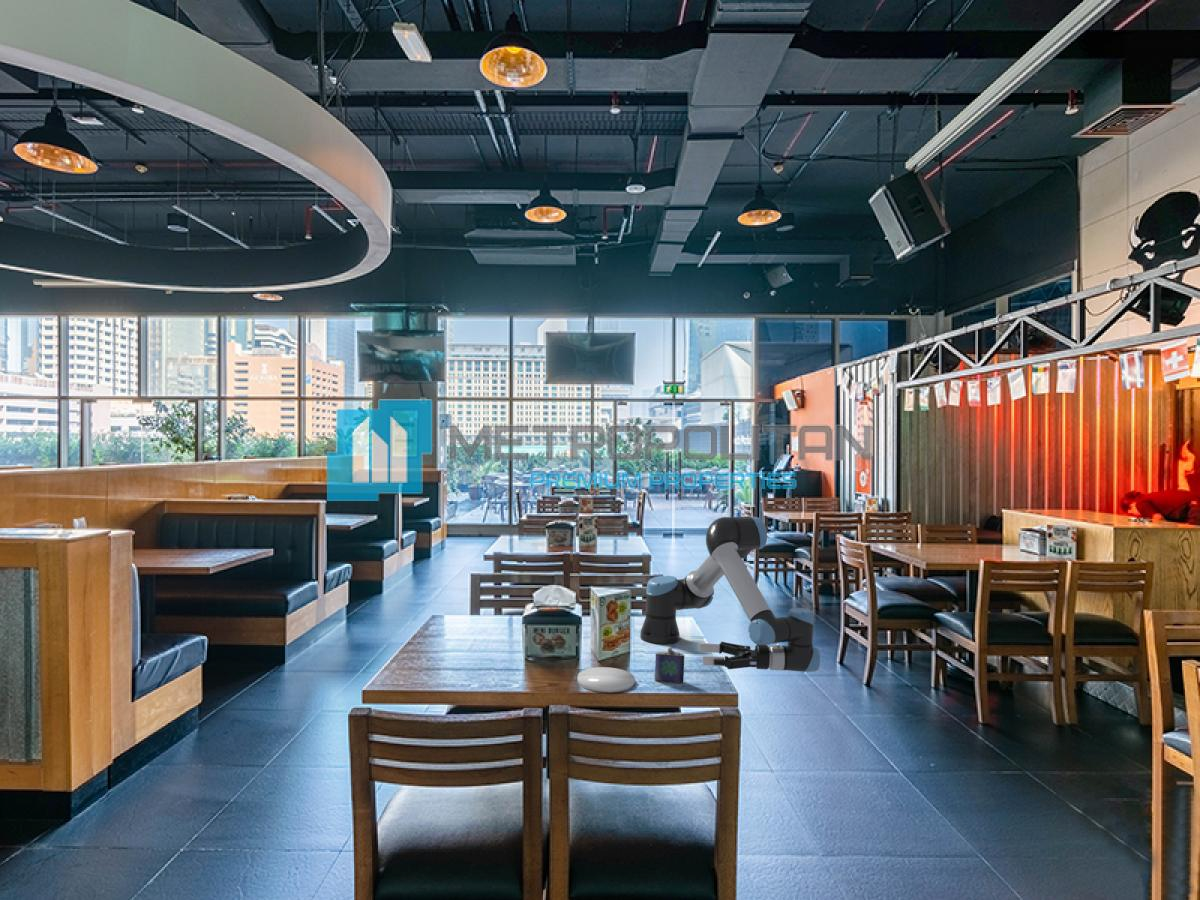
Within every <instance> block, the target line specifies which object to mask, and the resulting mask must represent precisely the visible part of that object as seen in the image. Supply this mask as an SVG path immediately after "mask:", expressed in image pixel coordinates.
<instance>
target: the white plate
mask: <svg viewBox="0 0 1200 900" xmlns="http://www.w3.org/2000/svg"><path fill="white" fill-rule="evenodd" d="M577 683H578V685H579V686H580V687H582V688H584V689H586V690H589V691H593V692H598V693H618V692H619V693H621V692H624V691H628V690H630V689H631V688H633V687H634V685H635V675H633V674H632V673H631V672H629V671H627V670H626V669H625V670H624V669H622V668H615V667H608V666H607V667H605V666H602V667H601V666H600V667H599V666H598V667H591V668H587V669H584V670H581V671H580V672H579V673H578V674H577Z"/></svg>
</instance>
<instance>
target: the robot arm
mask: <svg viewBox="0 0 1200 900" xmlns="http://www.w3.org/2000/svg"><path fill="white" fill-rule="evenodd" d="M705 535H706V536H705V545H706V548H707V551H708V554H709V555H708V556H707V557H706V559H705V560H704V561H703V563H702V564H701V565H700V566H699V567H698V568H697V569H696V570H692V571H690V572H689V573H687V575H685V577H684V578H681V579H680V578H679V579H677V577H675V576H672V575H660V576H655V577H652V578H650V579H649V580H648V581H647V585H646V591H645V593H646V595H645V596H646V599H645V618H644V621H643V623H642V626H641V629H640V632H639V633H640V635H639V637H640V639H641V640H643V641H644V642H648V643H651V644H657V645H658V644H659V645H660V644H661V645H667V644H668V645H669V644H675V643H677V642H679V641H680V639H681V636H680V634H681V633H680V630H679V626H678V622H677V619H676V618H677V611H682V610H693V609H698V610H700V609H702V608H706V607H708V606H710V604H711V603H712V601H713V599H714V595H715V591H714V586H715V585H716V584H717V583H718V582H719V581H720V580H721V579H722V577H723V576H725V578H726V581H728V584H729V586H730V587H731V589H732V591H733V592H734V595H735V597H736V598H737V600H738V602H739V603H740V606H741V607H742V608H743V611H744V613H745V614H746V617H747V618H748V621H749V622H750V623H749V625H748V630H747V631H748V634H749V635H748V636H749V638H750V640H751V642H753V643H754V644H756V645H755V647H754V649H751V646H750V645H742V644H737V643H730V642H725V641H720V643H711V642H709V643H708V642H707V643H706V642H699V644H698V645H699V646H698V647H699V648H698V652H700V653H702V652H703V653H719V655H721V654H723V653H724V654H726V655H724V656H719V655H718V656H717V655H715V656H714V655H702V665H703V666H710V667H712V666H713V667H714V666H715V667H725V668H726V669H727V670H734V669H735V670H736V669H744V668H756V669H757V670H768V669H770V671H789V672H790V671H791V672H802V673H811V672H814V673H815V672H817V671H818V670H819V669H820V666H821V654H820V651H819V649H818V647H815V646H813V638H814V637H813V636H814V626H815V624H814V623H815V622H814V613H813V611H812V610H810V609H808V608H805V607H804V608H803V607H792V608H790V609H789V610H788V615H787V616H781V617H780V616H779V617H777V616H775V614H774V612H773V611H772V609H771V607H770V606H769V604H768V602H767V601H766V599H765V597H764V595H763V593H762V592H761V590H760V589H759V586H758V585H757V583H756V581H755V579H754V577H753V576H752V574H751V573H750V570H749V568H747V566H746V564H745V562H744V561H743V560H744V559H745V558H746V557H747V556H749V554H750V553H751V552H752V551H754V550H758V551H759V550H761V549H763V548H764V547H766V545H767V541H768V530H767V527H766V524H765V523H764V521H763V520H762V518H760V517H757V516H752V515H747V516H724V517H722V516H721V517H719V518H716V519H715V520H714V521H712V523H711V524H710V525H709V526H708V528H707V531H706V534H705ZM786 642H787V645H780V644H779V643H786ZM773 644H776V645H773ZM727 655H731V656H727Z"/></svg>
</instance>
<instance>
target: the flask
mask: <svg viewBox="0 0 1200 900" xmlns="http://www.w3.org/2000/svg"><path fill="white" fill-rule="evenodd" d="M672 649H673V647H668V648H667V651H666V652H665V651H657V652H656V653H655V660H654V661H655V663H654V664H655V665H654V681H655V682H658V683H659V682H660V683H661V682H662V683H667V684H668V683H675V684H683V683H684V677H685V676H684V675H685V655H684V654H683V653H681V652H678V651H677V652H675V651H674V650H672Z"/></svg>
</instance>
